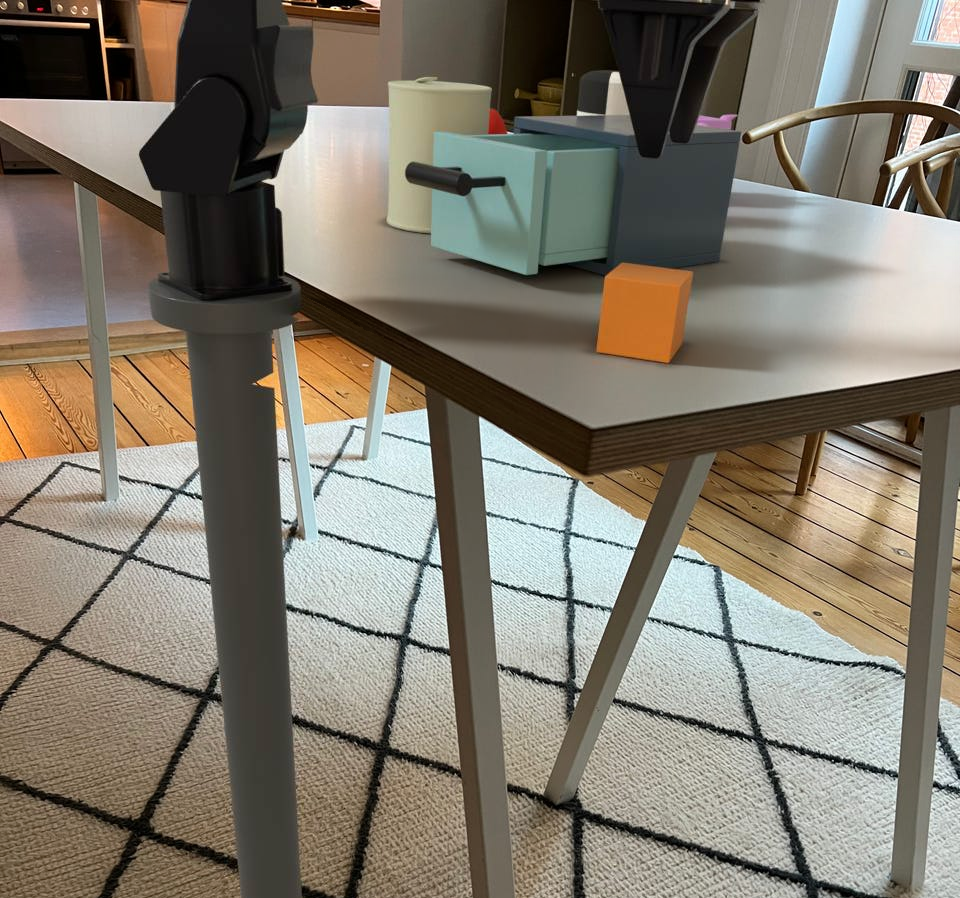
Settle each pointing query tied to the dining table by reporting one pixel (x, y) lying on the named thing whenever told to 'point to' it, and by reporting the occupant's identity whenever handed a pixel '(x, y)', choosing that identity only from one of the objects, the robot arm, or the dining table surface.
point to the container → (601, 94)
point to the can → (426, 138)
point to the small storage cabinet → (657, 191)
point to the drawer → (520, 197)
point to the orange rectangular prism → (644, 312)
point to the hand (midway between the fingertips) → (666, 149)
